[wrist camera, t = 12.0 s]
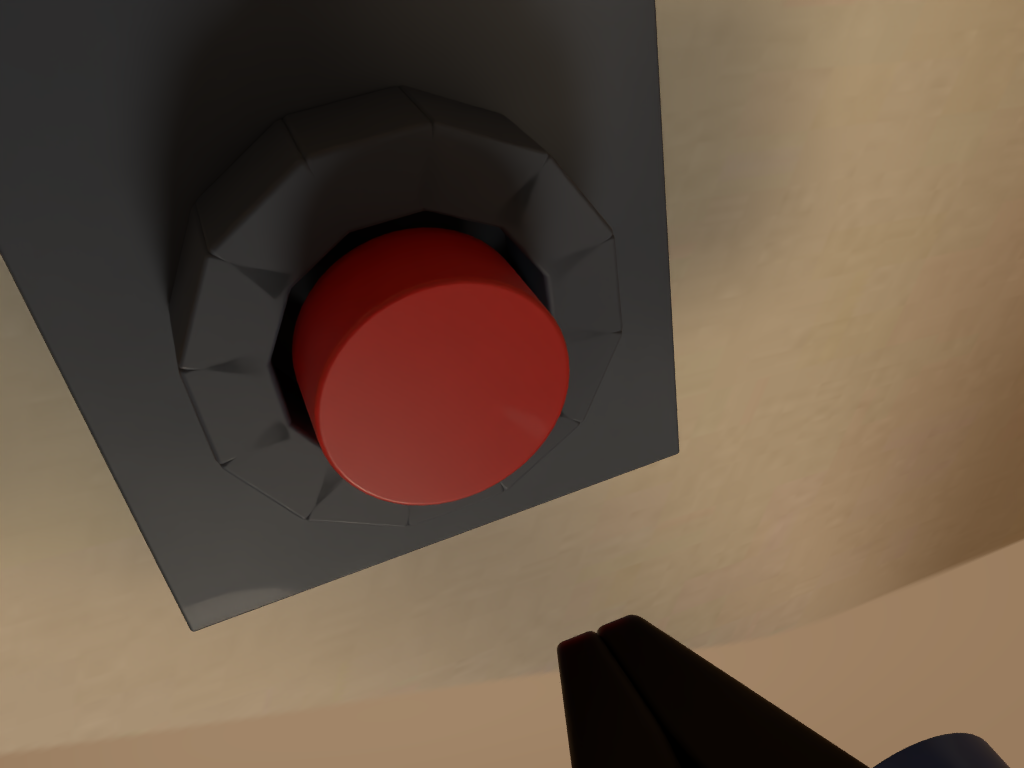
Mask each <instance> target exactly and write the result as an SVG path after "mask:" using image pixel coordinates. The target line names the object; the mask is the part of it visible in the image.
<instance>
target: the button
mask: <svg viewBox="0 0 1024 768" xmlns="http://www.w3.org/2000/svg"><path fill="white" fill-rule="evenodd" d="M292 358H293V367H294V371H295V375H296V379H297V382H298V385H299V388H300V391H301V394H302V397H303V399H304V402H305V405H306V408H307V411H308V414H309V417H310V420H311V422H312V425H313V428H314V431H315V434H316V437H317V440H318V442H319V444H320V447H321V449H322V452H323V454H324V455H325V457H326V459H327V460H328V462H329V463H330V465H331V466H332V467H333V468H334V470H335V471H336V472H337V473H338V474H339V475H340V476H341V477H342V478H343V479H345V480H346V481H347V482H348V483H349V484H351V485H352V486H354V487H355V488H357V489H359V490H360V491H362V492H364V493H366V494H368V495H370V496H373V497H375V498H377V499H380V500H384V501H388V502H391V503H396V504H404V505H434V504H442V503H447V502H452V501H456V500H460V499H463V498H466V497H469V496H472V495H474V494H477V493H479V492H482V491H484V490H486V489H488V488H490V487H492V486H493V485H495V484H497V483H499V482H500V481H502V480H503V479H505V478H506V477H508V476H509V475H511V474H512V473H514V472H515V471H516V470H517V469H518V468H520V467H521V466H522V465H523V464H525V463H526V462H527V461H528V460H529V459H530V458H531V457H532V456H533V455H534V454H535V452H536V451H537V450H538V449H539V448H540V446H541V445H542V444H543V443H544V441H545V440H546V439H547V437H548V435H549V434H550V432H551V431H552V429H553V428H554V426H555V424H556V422H557V420H558V418H559V416H560V414H561V411H562V408H563V405H564V403H565V399H566V395H567V390H568V384H569V355H568V351H567V346H566V342H565V339H564V337H563V334H562V331H561V329H560V327H559V325H558V324H557V322H556V320H555V319H554V317H553V316H552V315H551V313H550V312H549V311H548V310H547V308H546V307H545V306H544V305H543V304H542V302H541V301H540V300H539V299H538V298H537V297H536V295H535V294H534V293H533V292H532V291H531V289H530V288H529V287H528V286H527V285H526V283H525V282H524V281H523V280H522V279H521V277H520V276H519V275H518V274H517V273H516V271H515V270H514V269H513V268H512V267H511V266H510V264H509V263H508V262H507V261H506V260H505V258H504V257H503V256H501V255H500V254H499V253H498V252H497V251H496V250H495V249H494V248H492V247H491V246H489V245H487V244H486V243H484V242H483V241H481V240H479V239H477V238H475V237H473V236H470V235H468V234H465V233H461V232H458V231H455V230H449V229H443V228H427V227H420V228H410V229H403V230H398V231H394V232H390V233H386V234H384V235H381V236H378V237H375V238H373V239H371V240H369V241H367V242H365V243H363V244H361V245H359V246H357V247H355V248H354V249H352V250H351V251H349V252H348V253H346V254H345V255H343V256H342V257H341V258H340V259H339V260H337V261H336V262H335V263H334V264H333V265H332V266H330V267H329V269H328V270H327V271H326V272H325V273H324V274H323V275H322V276H321V277H320V278H319V280H318V281H317V282H316V284H315V285H314V287H313V288H312V289H311V291H310V292H309V294H308V296H307V298H306V300H305V302H304V303H303V305H302V307H301V310H300V313H299V315H298V318H297V321H296V325H295V329H294V334H293V343H292Z"/></svg>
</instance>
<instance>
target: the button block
mask: <svg viewBox="0 0 1024 768" xmlns="http://www.w3.org/2000/svg"><path fill="white" fill-rule="evenodd" d="M420 227H427V228H443V229H449V230H455V231H458V232H461V233H465V234H468V235H470V236H473V237H475V238H477V239H479V240H481V241H483V242H484V243H486V244H487V245H489V246H491V247H492V248H494V249H495V250H496V251H497V252H498V253H499V254H500V255H501V256H503V257H504V258H505V260H506V261H507V262H508V263H509V264H510V266H511V267H512V268H513V269H514V270H515V271H516V273H517V274H518V275H519V276H520V277H521V279H522V280H523V281H524V282H525V283H526V285H527V286H528V287H529V288H530V289H531V291H532V292H533V293H534V294H535V295H536V297H537V298H538V299H539V300H540V301H541V302H542V304H543V305H544V306H545V307H546V308H547V310H548V311H549V312H550V313H551V315H552V316H553V317H554V319H555V320H556V322H557V324H558V325H559V327H560V329H561V331H562V334H563V337H564V339H565V342H566V346H567V351H568V355H569V384H568V390H567V395H566V399H565V403H564V405H563V408H562V411H561V414H560V416H559V418H558V420H557V422H556V424H555V426H554V428H553V429H552V431H551V432H550V434H549V435H548V437H547V439H546V440H545V441H544V443H543V444H542V445H541V446H540V448H539V449H538V450H537V451H536V452H535V454H534V455H533V456H532V457H531V458H530V459H529V460H528V461H527V462H526V463H525V464H523V465H522V466H521V467H520V468H518V469H517V470H516V471H515V472H514V473H512V474H511V475H509V476H508V477H506V478H505V479H503V480H502V481H500V482H499V483H497V484H495V485H493V486H492V487H490V488H488V489H486V490H484V491H482V492H479V493H477V494H474V495H472V496H469V497H466V498H463V499H460V500H456V501H452V502H447V503H442V504H434V505H404V504H396V503H391V502H388V501H384V500H380V499H377V498H375V497H373V496H370V495H368V494H366V493H364V492H362V491H360V490H359V489H357V488H355V487H354V486H352V485H351V484H349V483H348V482H347V481H346V480H345V479H343V478H342V477H341V476H340V475H339V474H338V473H337V472H336V471H335V470H334V468H333V467H332V466H331V465H330V463H329V462H328V460H327V459H326V457H325V455H324V454H323V452H322V449H321V447H320V444H319V442H318V440H317V437H316V434H315V431H314V428H313V425H312V422H311V420H310V417H309V414H308V411H307V408H306V405H305V402H304V399H303V397H302V394H301V391H300V388H299V385H298V382H297V379H296V375H295V371H294V367H293V358H292V343H293V334H294V329H295V325H296V321H297V318H298V315H299V313H300V310H301V307H302V305H303V303H304V302H305V300H306V298H307V296H308V294H309V292H310V291H311V289H312V288H313V287H314V285H315V284H316V282H317V281H318V280H319V278H320V277H321V276H322V275H323V274H324V273H325V272H326V271H327V270H328V269H329V267H330V266H332V265H333V264H334V263H335V262H336V261H337V260H339V259H340V258H341V257H342V256H343V255H345V254H346V253H348V252H349V251H351V250H352V249H354V248H355V247H357V246H359V245H361V244H363V243H365V242H367V241H369V240H371V239H373V238H375V237H378V236H381V235H384V234H386V233H390V232H394V231H398V230H403V229H410V228H420ZM0 254H1V256H2V258H3V259H4V261H5V263H6V265H7V267H8V269H9V271H10V273H11V275H12V277H13V279H14V281H15V283H16V285H17V287H18V289H19V291H20V293H21V295H22V297H23V299H24V301H25V303H26V305H27V307H28V309H29V311H30V313H31V315H32V317H33V319H34V321H35V323H36V325H37V327H38V329H39V331H40V333H41V335H42V337H43V339H44V341H45V343H46V345H47V347H48V349H49V351H50V353H51V355H52V357H53V359H54V361H55V363H56V365H57V367H58V368H59V370H60V372H61V374H62V376H63V378H64V380H65V382H66V384H67V386H68V388H69V390H70V392H71V394H72V396H73V398H74V400H75V402H76V404H77V406H78V408H79V410H80V412H81V414H82V416H83V418H84V420H85V422H86V424H87V426H88V428H89V430H90V432H91V434H92V436H93V438H94V440H95V442H96V444H97V446H98V448H99V450H100V452H101V454H102V456H103V458H104V460H105V462H106V464H107V466H108V468H109V470H110V472H111V474H112V476H113V477H114V479H115V481H116V483H117V485H118V487H119V489H120V491H121V493H122V495H123V497H124V499H125V501H126V503H127V505H128V507H129V509H130V511H131V513H132V515H133V517H134V519H135V521H136V523H137V525H138V527H139V529H140V531H141V533H142V535H143V537H144V539H145V541H146V543H147V545H148V547H149V549H150V551H151V553H152V555H153V557H154V559H155V561H156V563H157V565H158V567H159V569H160V571H161V573H162V575H163V577H164V579H165V581H166V583H167V585H168V587H169V588H170V590H171V592H172V594H173V596H174V598H175V600H176V602H177V604H178V606H179V608H180V610H181V612H182V614H183V616H184V618H185V620H186V622H187V624H188V626H189V628H190V630H191V631H197V630H200V629H203V628H205V627H208V626H211V625H214V624H216V623H219V622H222V621H224V620H227V619H230V618H233V617H235V616H238V615H241V614H243V613H246V612H249V611H252V610H254V609H257V608H260V607H262V606H265V605H268V604H271V603H273V602H276V601H279V600H281V599H284V598H287V597H290V596H292V595H295V594H298V593H300V592H303V591H306V590H309V589H311V588H314V587H317V586H320V585H322V584H325V583H328V582H330V581H333V580H336V579H339V578H341V577H344V576H347V575H349V574H352V573H355V572H358V571H360V570H363V569H366V568H368V567H371V566H374V565H377V564H379V563H382V562H385V561H387V560H390V559H393V558H396V557H398V556H401V555H404V554H406V553H409V552H412V551H415V550H417V549H420V548H423V547H425V546H428V545H431V544H434V543H436V542H439V541H442V540H445V539H447V538H450V537H453V536H455V535H458V534H461V533H464V532H466V531H469V530H472V529H474V528H477V527H480V526H483V525H485V524H488V523H491V522H493V521H496V520H499V519H502V518H504V517H507V516H510V515H512V514H515V513H518V512H521V511H523V510H526V509H529V508H531V507H534V506H537V505H540V504H542V503H545V502H548V501H550V500H553V499H556V498H559V497H561V496H564V495H567V494H570V493H572V492H575V491H578V490H580V489H583V488H586V487H589V486H591V485H594V484H597V483H599V482H602V481H605V480H608V479H610V478H613V477H616V476H618V475H621V474H624V473H627V472H629V471H632V470H635V469H637V468H640V467H643V466H646V465H648V464H651V463H654V462H656V461H659V460H662V459H665V458H667V457H670V456H673V455H675V454H678V453H679V438H678V420H677V401H676V383H675V364H674V345H673V327H672V308H671V289H670V271H669V252H668V233H667V215H666V196H665V178H664V159H663V140H662V122H661V103H660V84H659V66H658V47H657V28H656V10H655V0H0Z"/></svg>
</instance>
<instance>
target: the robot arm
mask: <svg viewBox="0 0 1024 768" xmlns="http://www.w3.org/2000/svg"><path fill="white" fill-rule="evenodd" d="M557 655H558V663H559V671H560V678H561V685H562V694H563V702H564V709H565V717H566V725H567V733H568V741H569V748H570V756H571V764H572V768H869V767H868V766H866V765H865V764H863V763H862V762H860V761H859V760H857V759H856V758H854V757H853V756H851V755H849V754H848V753H846V752H845V751H843V750H842V749H840V748H838V747H837V746H836V745H834V744H832V743H831V742H830V741H828V740H827V739H825V738H823V737H822V736H821V735H819V734H817V733H816V732H815V731H813V730H812V729H810V728H808V727H807V726H805V725H804V724H802V723H801V722H799V721H798V720H796V719H795V718H793V717H792V716H790V715H789V714H787V713H786V712H784V711H783V710H781V709H780V708H778V707H777V706H775V705H774V704H772V703H771V702H769V701H767V700H766V699H764V698H763V697H761V696H760V695H758V694H757V693H755V692H754V691H752V690H751V689H749V688H748V687H746V686H745V685H743V684H742V683H740V682H739V681H737V680H736V679H734V678H733V677H731V676H730V675H728V674H727V673H725V672H723V671H722V670H720V669H719V668H717V667H716V666H714V665H713V664H711V663H710V662H708V661H707V660H705V659H704V658H702V657H701V656H699V655H698V654H696V653H695V652H693V651H692V650H690V649H689V648H687V647H686V646H684V645H682V644H681V643H679V642H678V641H676V640H675V639H673V638H672V637H670V636H669V635H667V634H666V633H664V632H663V631H661V630H660V629H658V628H657V627H655V626H654V625H652V624H651V623H649V622H648V621H646V620H645V619H643V618H641V617H639V616H636V615H628V616H625V617H623V618H620V619H618V620H615V621H613V622H610V623H608V624H605V625H603V626H601V627H600V628H599V629H598V631H597V633H595V632H593V631H589V632H585V633H583V634H580V635H578V636H575V637H573V638H570V639H568V640H565V641H563V642H561V643H560V644H559V645H558V647H557Z"/></svg>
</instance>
